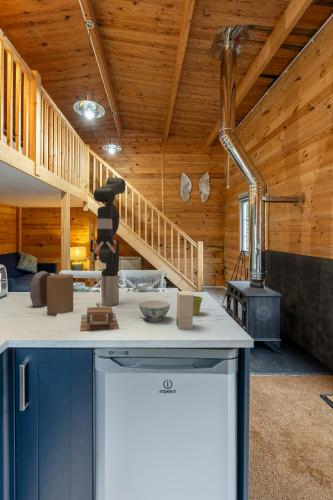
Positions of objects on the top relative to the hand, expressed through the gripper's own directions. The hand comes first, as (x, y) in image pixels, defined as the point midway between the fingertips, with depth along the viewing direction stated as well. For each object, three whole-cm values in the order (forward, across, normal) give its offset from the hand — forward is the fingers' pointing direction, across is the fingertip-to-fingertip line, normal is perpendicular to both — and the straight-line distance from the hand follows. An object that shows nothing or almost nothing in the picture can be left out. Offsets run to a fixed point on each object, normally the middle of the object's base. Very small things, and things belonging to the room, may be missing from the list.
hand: (104, 260), depth 151 cm
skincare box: (+28, +34, -27) cm, 52 cm away
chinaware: (+28, +23, -12) cm, 38 cm away
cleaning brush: (+28, -35, +32) cm, 55 cm away
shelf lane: (+28, -3, -15) cm, 32 cm away
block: (+28, -22, +10) cm, 37 cm away
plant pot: (+28, +45, -6) cm, 54 cm away
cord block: (+27, -3, -5) cm, 27 cm away
